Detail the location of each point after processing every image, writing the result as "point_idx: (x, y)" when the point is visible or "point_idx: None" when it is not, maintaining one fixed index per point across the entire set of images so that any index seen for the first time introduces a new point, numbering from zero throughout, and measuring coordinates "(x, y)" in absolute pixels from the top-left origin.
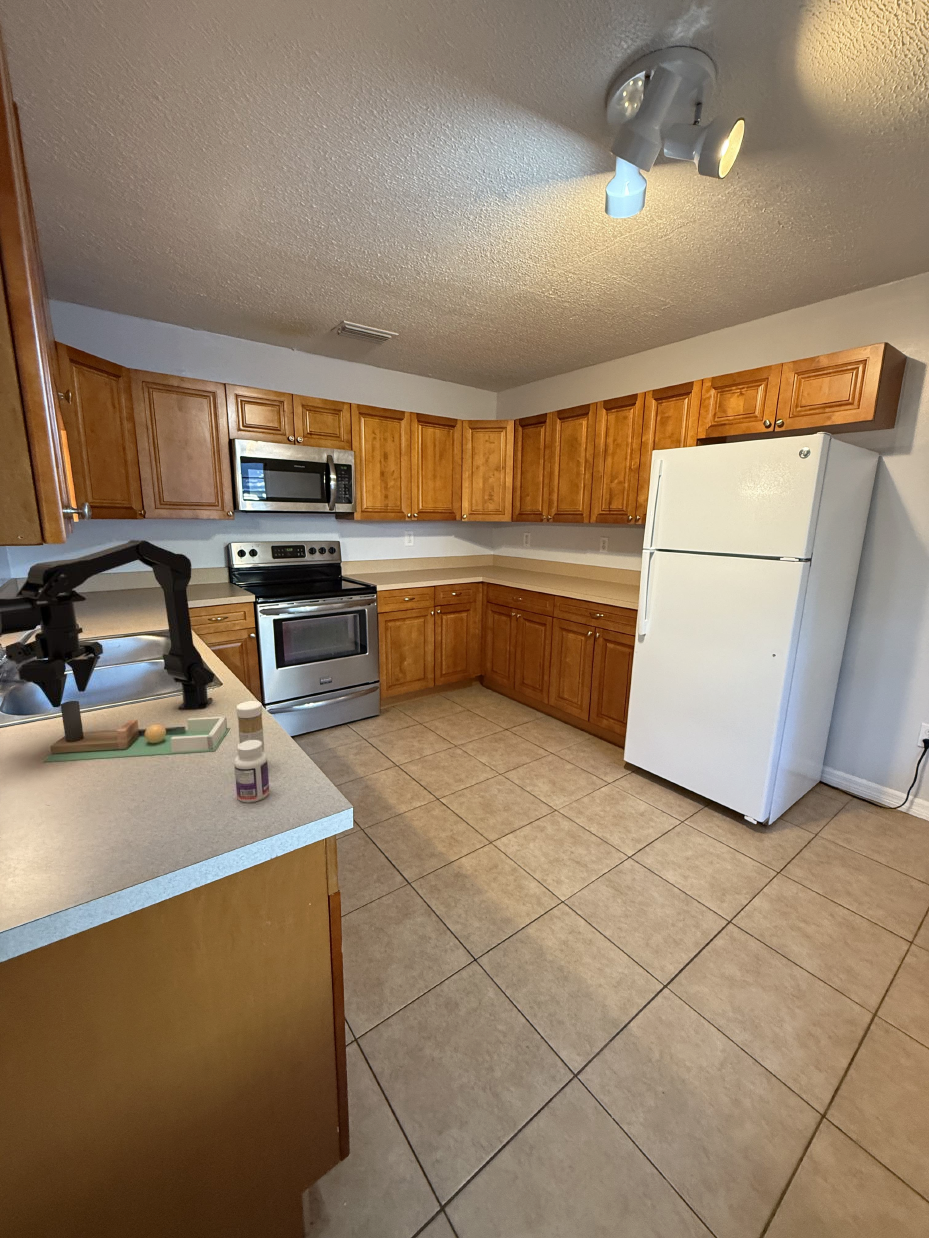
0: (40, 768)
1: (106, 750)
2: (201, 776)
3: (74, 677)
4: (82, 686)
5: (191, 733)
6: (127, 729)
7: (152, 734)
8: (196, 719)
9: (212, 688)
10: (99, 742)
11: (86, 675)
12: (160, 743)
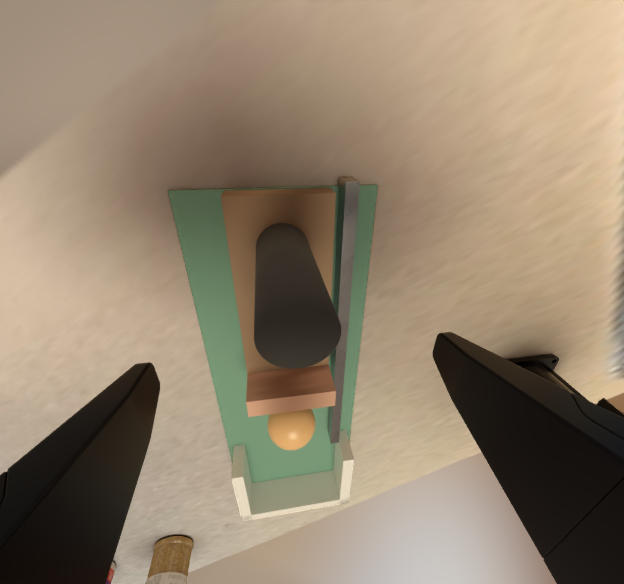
0: (125, 211)
1: None
2: (138, 509)
3: (525, 397)
4: (450, 377)
5: (328, 437)
6: (265, 412)
7: (269, 434)
8: (343, 472)
9: (619, 368)
10: (249, 332)
11: (503, 470)
12: None
